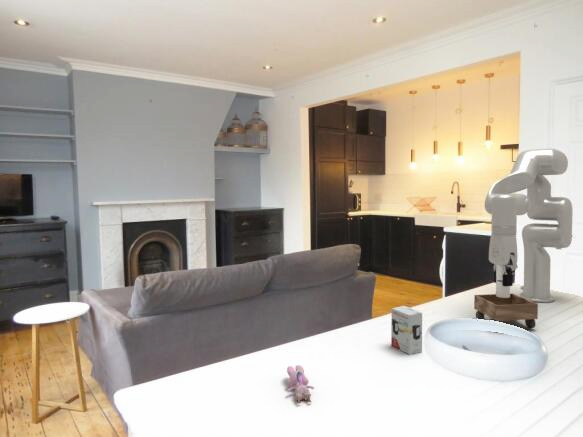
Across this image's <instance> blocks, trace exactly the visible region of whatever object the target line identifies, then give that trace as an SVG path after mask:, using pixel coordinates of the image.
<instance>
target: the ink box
mask: <svg viewBox="0 0 583 437" xmlns="http://www.w3.org/2000/svg"><path fill="white" fill-rule="evenodd" d="M390 323H391V324H390V325H391V330H390V331H391V333H390V334H391V335H390V336H391V337H390V339H391V342H390V343H391V346H392V345H393V346H392V347H394V348H395V347H396V349H397V348H398V349H397V350H399V349H400V351H401V350H402V351H401V352H403V351H404V352H403V353H405V352H406V353H405V354H407V353H408V354H407V355H409V354H410V355H414V354H413V353H415V354H419V353H418V352H420V353H422V352H423V312H422V311H419V310H417V309H414V308H411V307H410V306H409V307H408V306H406V305H401V306H396V307H392V308H391V322H390Z"/></svg>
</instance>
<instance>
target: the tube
mask: <svg viewBox="0 0 583 437" xmlns="http://www.w3.org/2000/svg"><path fill="white" fill-rule="evenodd" d="M507 265H510V263H508V264H507ZM508 268H510V267H507V269H508ZM503 274H504V269H503V266H501V265H498V264H496V283H495V294H496V296H497V297H501V298H509V297H510V294H511V286H503Z"/></svg>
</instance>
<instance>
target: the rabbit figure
mask: <svg viewBox="0 0 583 437" xmlns="http://www.w3.org/2000/svg"><path fill="white" fill-rule="evenodd" d="M286 372H287V374H288V376H289V379H288V380H287V385H288V386H289V387H290V388H288V389H287V392H291V391H293V390H294V398H295V401H296V400H298V401H297V403H298V405H300V404H299V403H301V401H302V400H304V399H306V400H307V399H309V400H308V402H310V403H311V402H312V399H311V393H310V390H309V389H311V390H314V388H315V386H311V385H308V384H309V383H310V382H309V379H308V378H307V377H306V375H305V369H304V367H303V366H302V365H300V364H299V365H298V364H297V365H295V368H294V367H293V366H292V365H289V366H288V367H287V368H286ZM300 400H301V401H300ZM306 400H305V401H306Z"/></svg>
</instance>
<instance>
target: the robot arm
mask: <svg viewBox="0 0 583 437" xmlns="http://www.w3.org/2000/svg"><path fill="white" fill-rule="evenodd" d="M568 166H569V161H568V157H567V155H566V154H565V153H564V152H562V151H561V150H558V149H556V148H539V149H528V150H524V151H521V152H520V153H518V155H517V157H516V160H514V163H513V165H512V168H511V170H510V173H509V174H507V175H505V176H504V177H502V178H500V179H498V180H497V181H496V182H494V183H493V184H492V185H491V186H490V188H489V190H488V192H487V194H486V196H485V200H484V210H485V212H486V213H487V214H489V215H491V233H490V238H489V247H488V261H489V262H490V263H491V264H492V267H493V270H492V271H493V273H494V274H493V282H494V284H496V264H498V265H501V266H503V269H504V274H503V286H510V287H513V284H514V283H513V282H514V281H513V280H514V278H513V276H514V274H515V270H517V269H518V242H517V216H524V215H525V214H526V216H527V217H528V218H529V219H530V220H533V221H551V222H552V221H555V222H557V223H537V222H536V223H528V224H526V225H524V226H523V228H522V231H521V237H522V243H523V244H522V245H523V286H522V285H521V286H520V288H519V289H520V290H521V291H522V292H521V293H519V295H518V296H520V297H522V298H524V299H527V300H529V301H532V302H534V303H552V302H554V301H555V297H554V296H553V295H551V260H552V259H551V256H550V254H549V253H548V250H546V248H554V249H555V248H556V249H566V248H568V247H570V245H571V243H572V239H573V238H572V237H573V214H574V213H573V203H572V201H571V200H570V199H569V198H568V197H562V196H552V194H551V193H552V185H551V182H550V181H549V180H548V178H547V177H546V176H558V175H563V174H565V173H566V172H567V169H568V168H569V167H568ZM524 190H526V194H524V193H518V192H521V191H524ZM508 263H510V265H507V264H508ZM507 267H510V268H508V269H507Z"/></svg>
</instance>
